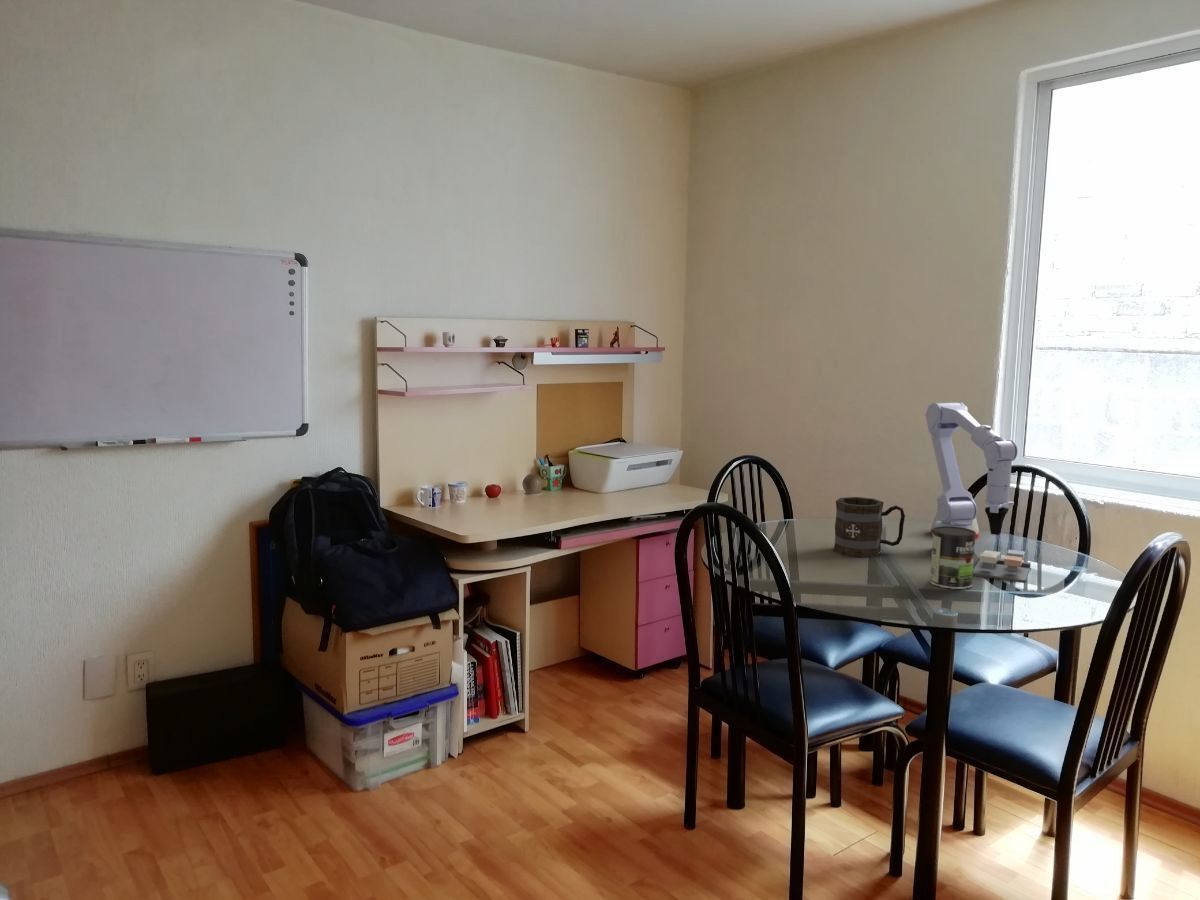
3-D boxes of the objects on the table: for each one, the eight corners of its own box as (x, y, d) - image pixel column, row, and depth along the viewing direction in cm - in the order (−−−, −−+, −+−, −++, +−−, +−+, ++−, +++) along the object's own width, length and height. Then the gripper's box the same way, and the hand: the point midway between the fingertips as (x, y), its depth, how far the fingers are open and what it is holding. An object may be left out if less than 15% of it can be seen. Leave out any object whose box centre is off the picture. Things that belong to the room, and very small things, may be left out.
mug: (836, 557, 258) (838, 505, 256) (830, 545, 271) (832, 496, 269) (907, 559, 255) (910, 507, 253) (898, 547, 269) (900, 498, 266)
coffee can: (981, 586, 230) (984, 532, 228) (952, 592, 226) (956, 537, 223) (949, 576, 239) (952, 524, 237) (920, 581, 235) (923, 528, 233)
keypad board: (971, 575, 240) (971, 569, 240) (979, 561, 253) (979, 556, 253) (1025, 582, 234) (1025, 576, 234) (1030, 568, 247) (1030, 562, 246)
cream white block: (982, 564, 247) (983, 553, 247) (984, 561, 251) (984, 550, 250) (998, 566, 245) (998, 555, 245) (999, 563, 249) (1000, 552, 248)
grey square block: (1006, 564, 244) (1007, 552, 244) (1007, 560, 247) (1008, 549, 247) (1022, 566, 242) (1023, 554, 242) (1024, 562, 245) (1024, 551, 245)
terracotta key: (1003, 570, 238) (1004, 558, 238) (1005, 567, 241) (1005, 555, 241) (1020, 572, 236) (1020, 560, 236) (1021, 569, 239) (1022, 557, 239)
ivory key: (979, 567, 241) (979, 555, 240) (981, 563, 244) (981, 552, 244) (995, 569, 239) (996, 557, 238) (997, 565, 242) (997, 554, 242)
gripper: (1011, 490, 235) (1008, 541, 237) (1017, 481, 248) (1014, 530, 250) (982, 488, 239) (979, 538, 241) (989, 479, 251) (986, 527, 253)
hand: (995, 534), depth 246 cm, fingers closed
